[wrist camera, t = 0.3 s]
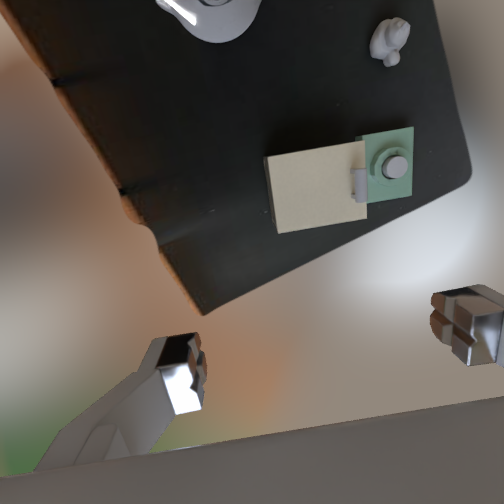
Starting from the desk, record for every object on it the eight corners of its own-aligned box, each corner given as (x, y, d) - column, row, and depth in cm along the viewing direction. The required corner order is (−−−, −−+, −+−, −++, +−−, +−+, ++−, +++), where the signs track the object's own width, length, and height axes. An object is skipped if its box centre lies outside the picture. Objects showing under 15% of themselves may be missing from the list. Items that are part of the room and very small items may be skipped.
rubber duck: (393, 20, 45) (424, -7, 38) (400, 64, 48) (430, 47, 40) (361, 33, 46) (385, 9, 38) (369, 76, 48) (394, 62, 40)
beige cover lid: (362, 140, 44) (377, 138, 39) (364, 217, 48) (378, 224, 43) (267, 157, 44) (270, 157, 39) (277, 232, 48) (281, 240, 44)
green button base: (355, 136, 51) (366, 134, 46) (403, 128, 51) (420, 125, 46) (357, 201, 55) (368, 205, 50) (402, 193, 55) (417, 197, 50)
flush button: (381, 158, 48) (386, 158, 46) (402, 154, 48) (408, 154, 46) (381, 179, 49) (386, 180, 48) (402, 175, 49) (407, 176, 48)
